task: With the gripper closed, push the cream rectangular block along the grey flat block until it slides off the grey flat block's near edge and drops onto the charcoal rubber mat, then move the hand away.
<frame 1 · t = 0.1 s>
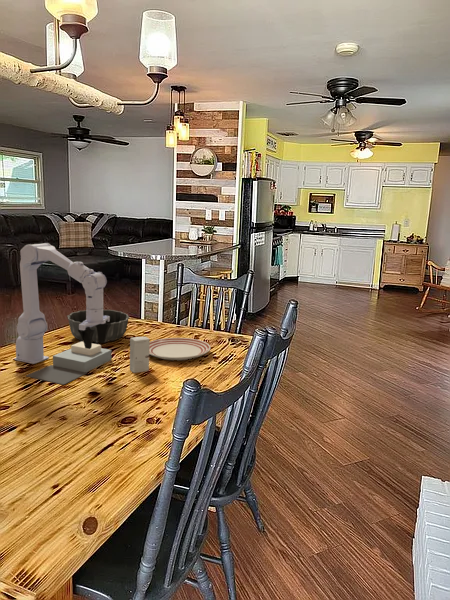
hand: (95, 345, 164), 10 cm above the table, tool pointing down, fingers open, 7 cm apart
dinner plate: (176, 354, 191), on the table
skincare box: (139, 370, 170), on the table
mat: (56, 374, 162), on the table
grey flat block: (83, 363, 174), on the table
bundt pan: (98, 338, 207), on the table
cream rectangular block: (86, 351, 175), point 4 cm above the table, touching grey flat block
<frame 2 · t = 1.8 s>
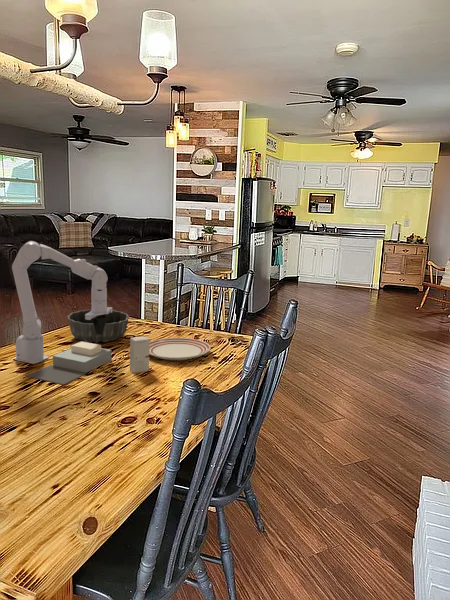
hand: (99, 333, 182), 9 cm above the table, tool pointing down, fingers closed
nothing on the table moved.
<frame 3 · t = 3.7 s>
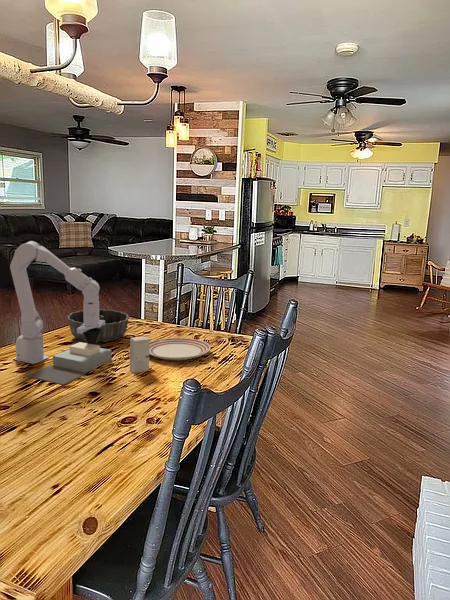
hand: (91, 347, 178), 5 cm above the table, tool pointing down, fingers closed
cream rectangular block: (84, 352, 175), point 4 cm above the table, touching grey flat block, gripper
everything else where it was.
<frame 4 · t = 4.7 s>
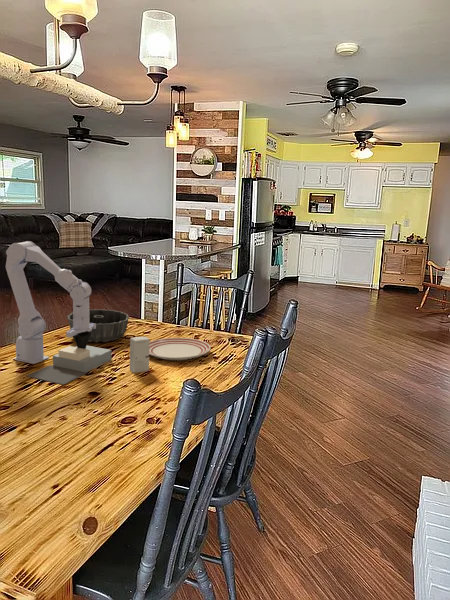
hand: (81, 351, 173), 5 cm above the table, tool pointing down, fingers closed
cream rectangular block: (74, 356, 169), point 4 cm above the table, touching grey flat block, gripper
everything else where it was.
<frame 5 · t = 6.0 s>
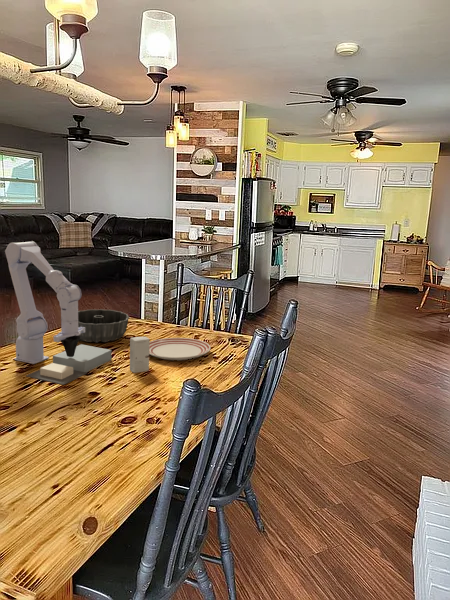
hand: (70, 356, 167), 5 cm above the table, tool pointing down, fingers closed
cream rectangular block: (56, 367, 161), point 3 cm above the table, tilted 180°, touching mat
everything else where it was.
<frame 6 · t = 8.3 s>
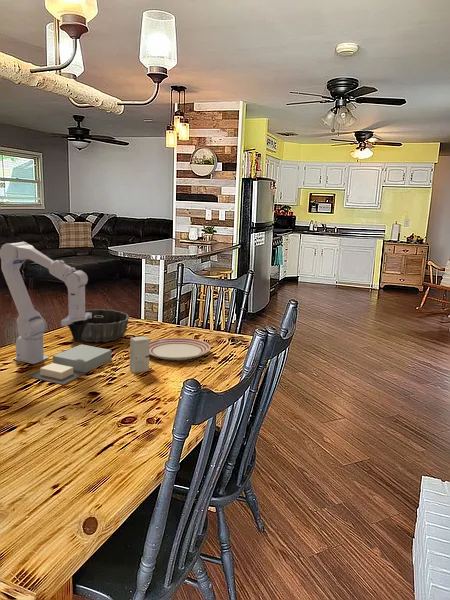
hand: (77, 340, 170), 9 cm above the table, tool pointing down, fingers closed
nothing on the table moved.
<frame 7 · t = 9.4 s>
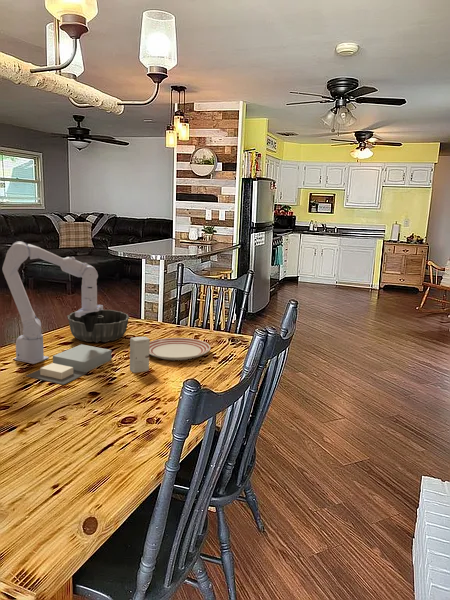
hand: (89, 331, 181), 10 cm above the table, tool pointing down, fingers closed
nothing on the table moved.
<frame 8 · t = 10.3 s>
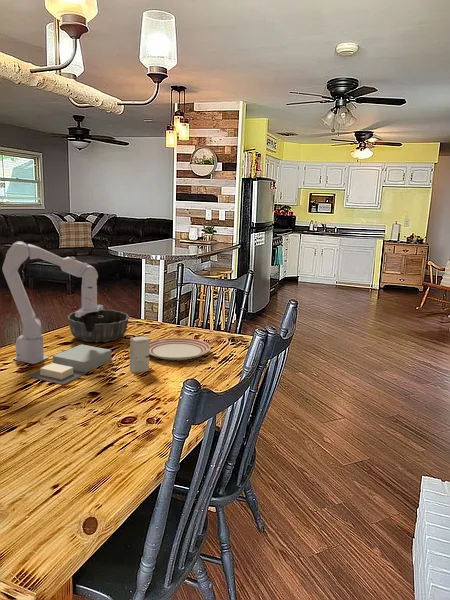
hand: (89, 331, 181), 10 cm above the table, tool pointing down, fingers closed
nothing on the table moved.
at the end: cream rectangular block point 2.7 cm above the table; cream rectangular block inside the target area on the mat (0.1 cm from its centre), point 2.7 cm above the mat's base; cream rectangular block touching mat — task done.
